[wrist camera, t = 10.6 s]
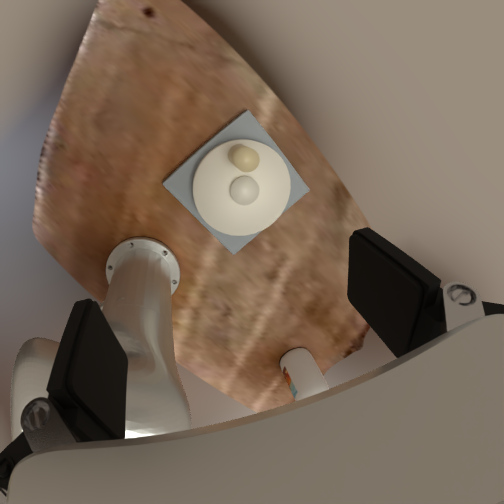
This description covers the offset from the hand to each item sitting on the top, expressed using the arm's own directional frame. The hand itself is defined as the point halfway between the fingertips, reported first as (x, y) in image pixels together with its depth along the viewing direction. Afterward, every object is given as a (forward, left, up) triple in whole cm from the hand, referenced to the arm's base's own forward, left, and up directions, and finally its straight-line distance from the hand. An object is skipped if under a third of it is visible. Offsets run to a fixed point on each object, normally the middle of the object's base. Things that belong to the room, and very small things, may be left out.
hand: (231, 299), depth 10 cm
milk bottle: (-13, -48, -34) cm, 60 cm away
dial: (+3, -8, -32) cm, 34 cm away
